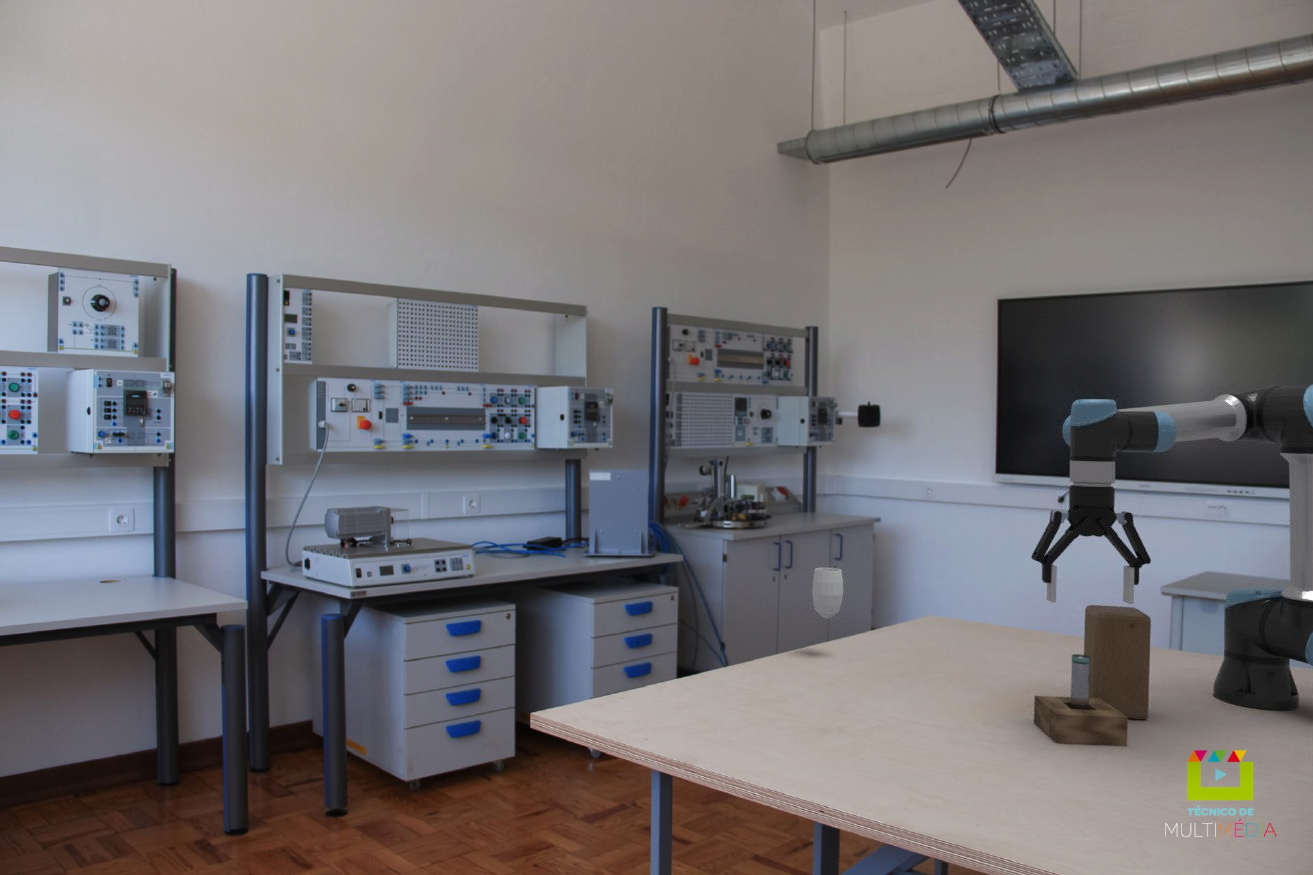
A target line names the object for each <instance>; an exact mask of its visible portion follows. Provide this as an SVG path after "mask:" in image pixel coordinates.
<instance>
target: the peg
mask: <svg viewBox="0 0 1313 875" xmlns="http://www.w3.org/2000/svg"><path fill="white" fill-rule="evenodd" d="M1089 679H1090V656H1087V655H1084V654H1080V653H1079V654H1078V653H1076V654H1075V653H1073V654H1071V676H1070V680H1071V682H1070V697H1071V709H1081V710H1089Z"/></svg>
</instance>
